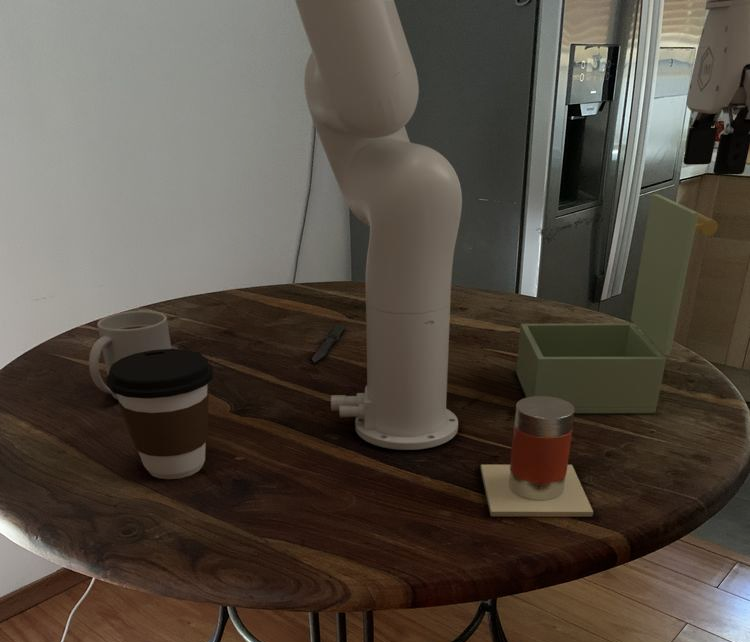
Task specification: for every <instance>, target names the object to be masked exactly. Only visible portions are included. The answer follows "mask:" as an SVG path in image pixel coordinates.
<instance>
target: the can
mask: <svg viewBox="0 0 750 642" xmlns="http://www.w3.org/2000/svg"><path fill="white" fill-rule="evenodd" d="M574 411H575V409H574V406H573V405H572V404H571V403H569V402H567V401H565V400H562V399H559V398H555V397H548V396H533V397H527V398H526V397H524V398H521V399H520V400H518V401H517V402H516V404H515V413H514V422H513V429H512V438H511V439H512V440H511V450H510V462H509V465H510V477H509V488H510V490H511V491H512V492H513V493H514V494H516V495H518V496H520V497H522V498H525V499H530V500H538V501H544V500H551V499H555V498H557V497H559V496H560V495H561V494H562V493H563V491H564V484H565V477H566V473H567V466H568V465H569V458H570V451H571V444H572V438H573V437H572V436H573V425H574V419H575V418H574V417H575V413H574Z"/></svg>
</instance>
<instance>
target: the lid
mask: <svg viewBox="0 0 750 642" xmlns="http://www.w3.org/2000/svg"><path fill="white" fill-rule="evenodd" d="M647 216H648V217H647V221H646V226H645V232H644V239H643V245H642V251H641V256H640V261H639V268H638V273H637V274H638V275H637V280H636V287H635V292H634V299H633V304H632V309H631V317H630V321H631V323H633V324H634V325H635V327H636V328H637V329H638V330H639V331H640V332H641V333H642V334H643V335H644V336H645V337H646V338H647V339H648V340H649V341H650V342H651V343H652V345H653V346H654V347H655V348H656V349H657V350H658V351H659V352H660V353H661V354H662V355H663V356H670V355H671V353H672V348H673V342H674V337H675V333H676V327H677V322H678V318H679V313H680V307H681V303H682V298H683V293H684V288H685V283H686V277H687V272H688V267H689V262H690V258H691V253H692V248H693V243H694V239H695V233H696V232H698V233H700V234H701V235H703V236H705V237H711V236H713V235H714V234H715V233H716V232H717V230H718V223H717V221H715V220H714V219H712V218H710V217H707V216H705V215H704V214H702V213H699V212H698V211H695V210H693V209H691V208H689V207H687V206H685V205H682V204H680V203H678V202H676V201H674V200H672V199H670V198H667V197H665V196H663V195H661V194H659V193H651V197H650V202H649V209H648V215H647Z"/></svg>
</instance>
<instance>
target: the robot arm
mask: <svg viewBox="0 0 750 642" xmlns="http://www.w3.org/2000/svg"><path fill="white" fill-rule="evenodd" d="M294 1H295V4H296V7H297V11H298V13H299V16H300V20H301V24H302V26H303V30H304V32H305V35H306V38H307V41H308V43H309V46H310V49H311V52H310V55H309V57H308V59H307V62H306V65H305V69H304V78H303V79H304V81H303V86H304V95H305V99H306V104H307V108H308V111H309V114H310V118H311V119H312V123H313V125H314V128H315V131H316V133H317V135H318V138H319V141H320V143H321V146H322V149H323V150H324V153H325V155H326V158H327V161H328V163H329V166H330V169H331V171H332V173H333V176H334V178H335V181H336V184H337V186H338V188H339V190H340V193H341V195H342V198H343V199H344V201H345V203H346V205H347V207H348V208H349V210H350V211H351V213H352V214H353V215H354V216H355V217H356V218H357V219H358V220H359V221H361V222H362V223H363V224H365V225H366V226H368V227H369V240H368V247H367V254H366V256H367V257H366V263H365V264H366V265H365V280H364V282H365V283H364V286H365V287H364V290H365V296H364V298H365V331H366V332H365V336H366V337H365V339H366V340H365V341H366V385H365V387H364V392H356V395H346V394H344V395H343V394H336V395H334V394H332V395H330V411H331V412H338V413H339V414H338V415H339V418H351V417H352V418H353V417H355V420H354V428H355V429H354V430H355V432H356V434H357V435H358V436H359V437H360V438H361V439H362V440H363V441H365V442H367V443H369V444H371V445H373V446H376V447H380V448H384V449H388V450H389V449H390V450H398V451H416V450H426V449H431V448H435V447H439V446H442V445H443V444H446V443H448V442H449V441H451V440H452V439H454V437H455V436H456V435H457V434H458V431H459V419H458V417H457V416H456V414H455V413H454V412H452V411H451V410H450V409H448V408H447V396H448V370H449V348H450V347H449V346H450V326H451V325H450V322H451V321H450V320H451V294H452V277H453V276H452V275H453V263H454V255H455V249H456V243H457V238H458V233H459V228H460V223H461V217H462V208H463V193H462V187H461V183H460V180H459V177H458V174H457V172H456V171H455V168H454V167H453V166H452V164H451V163H450V161H449V160H448V159H447V158H446V157H445V156H444V155H443V154H441V153H440V152H438V150H435V149H433V148H431V147H429V146H426V145H424V144H419V143H416V142H415V143H414V142H411V141H410V138H409V135H408V132H407V129H406V125H407V124H408V123H409V122H410V120H411V118H412V117H413V115H414V113H415V111H416V109H417V105H418V101H419V94H420V93H419V92H420V87H419V85H420V84H419V78H418V73H417V69H416V65H415V63H414V59H413V56H412V53H411V51H410V47H409V44H408V41H407V38H406V35H405V32H404V28H403V25H402V21H401V18H400V16H399V12H398V9H397V6H396V2H395V0H294ZM704 9H705V10H706V11H707V14H706V17H705V21H704V24H703V27H702V30H701V34H700V38H699V42H698V46H697V51H696V55H695V59H694V64H693V68H692V73H691V77H690V83H689V86H688V87H689V88H688V93H687V98H686V107H687V108H688V109H689V111H691V117H690V118H689V123H688V125H689V126H688V127H689V128H688V133H687V139H686V144H685V150H684V156H683V165H687V166H691V165H693V166H695V165H696V166H697V165H701V166H702V165H709V164H711V163H712V159H713V154H714V151H715V144H716V140H717V134H718V129H719V128H718V127H716V124H717V122H718V120H719V118H720V116H721V114H722V115H723V128H724V133H720V134H719V140H718V145H717V149H716V155H715V159H714V164H713V165H714V166H713V170H712V171H713V172H712V173H713V174H715V175H717V176H718V175H719V176H723V175H728V176H730V175H731V176H732V175H742V174H744V172H745V169H746V166H747V165H746V164H747V160H748V156H749V151H750V0H706V2H705V7H704Z"/></svg>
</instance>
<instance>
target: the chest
mask: <svg viewBox="0 0 750 642" xmlns="http://www.w3.org/2000/svg"><path fill="white" fill-rule="evenodd" d="M518 338H519V340H518V350H517V359H516V375H517V378H518V380H519V383H520V385H521V388H522V390H523V393H524V395H525V398H527V397H533V396H548V397H555V398H559V399H562V400H565V401H567V402H569V403H571V404H572V405H573V406H574V409H575V411H574V414H656V412H657V407H658V402H659V398H660V393H661V386H662V381H663V377H664V371H665V366H666V361H667V358H666V357H665V355H664V354H663V353H662V352H661V351H660V350H659V349H658V348H657V347H656V346H655V345H654V344H653V343H652V342H651V341H650V340H649V339H648V338H647V337H646V336H645V334H644V333H643V332H642V331H641V330H640V329H639V328H638V327H637V326H636V325H635V324H634V323H633V322H631V323H628V322H627V323H626V322H625V323H520V328H519V337H518Z"/></svg>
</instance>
